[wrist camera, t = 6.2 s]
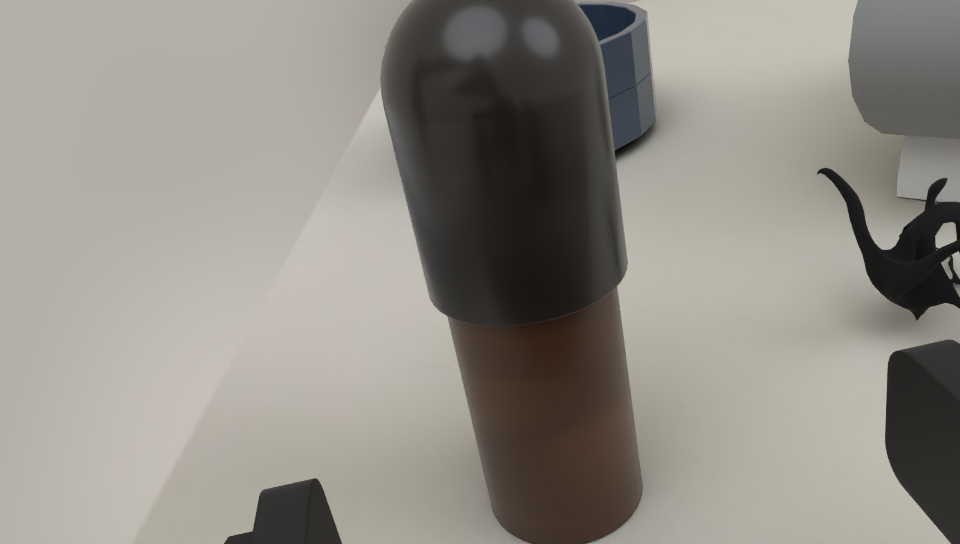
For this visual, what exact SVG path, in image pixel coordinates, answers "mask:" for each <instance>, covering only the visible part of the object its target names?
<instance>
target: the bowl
mask: <svg viewBox="0 0 960 544" xmlns="http://www.w3.org/2000/svg"><path fill="white" fill-rule="evenodd" d="M577 5H578V6H579V7H580V8H581V9H582V11H583V12H584V14H585V15H586V17H587V18H588V19H589V21H590V23H591V25H592V27H593V29H594V31H595V33H596V35H597V38H598V41H599V44H600V47H601V51H602V57H603V62H604V67H605V76H606V84H607V92H608V101H609V109H610V118H611V126H612V135H613V143H614V151H615V150H617V149H618V148H620V147H622V146H624V145H626V144H628V143H629V142H631V141H633V140H635V139H637V138H639V137H640V136H642V135H643V134H644V132H645V131H646V130H647V129H648V128H649V127H650V126H651V125H652V124H653V123H654V122H655V120H656V101H655V90H654V79H653V69H652V58H651V47H650V36H649V26H648V15H647V11H645V10H643V9H642V8H640V7H638V6H636V5H631V4H623V3H616V2H580V3H577Z"/></svg>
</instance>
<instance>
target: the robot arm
mask: <svg viewBox="0 0 960 544" xmlns="http://www.w3.org/2000/svg"><path fill="white" fill-rule="evenodd" d="M885 444H886V451H887V455H888V459H889V462H890V465H891V467H892V469H893V472H894V474H895V475H896V477H897V479H898V481H899V482H900V484H901V485H902V486H903V487H904V489H905V490H906V491H907V492H908V493H909V495H910V496H911V497H912V498H913V499H914V500H915V502H916V503H917V504H918V505H919V506H920V507H921V509H922V510H923V511H924V512H925V513H926V515H927V516H928V517H929V518H930V519H931V520H932V522H933V523H934V524H935V525H936V526H937V527H938V529H939V530H940V531H941V532H942V533H943V535H944V536H945V537H946V538H947V539H948V540H949V542H950V543H951V544H960V344H959V343H957V342H955V341H953V340H944V341H939V342H935V343H930V344H926V345H921V346H917V347H912V348H908V349H903V350H899V351H895V352H893V353H892V355H891V356H890V358H889V362H888V374H887V401H886V429H885ZM224 544H342V542H341V540H340V537H339V534H338V531H337V528H336V525H335V522H334V519H333V517H332V514H331V511H330V508H329V505H328V502H327V499H326V496H325V494H324V491H323V488H322V486H321V484H320V482H319V480H318V479H316V478H314V479H310V480H305V481H301V482H296V483H292V484H287V485H283V486H278V487H274V488H269V489H265V490H262V492H261V494H260V496H259V501H258V506H257V512H256V517H255V522H254V528H253V531H252V532H248V533H243V534H239V535H234V536H230V537H228V539H227V540H226V542H225V543H224Z"/></svg>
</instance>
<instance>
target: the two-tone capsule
mask: <svg viewBox="0 0 960 544" xmlns="http://www.w3.org/2000/svg"><path fill="white" fill-rule="evenodd" d="M381 94H382V100H383V106H384V110H385V114H386V119H387V123H388V127H389V131H390V135H391V139H392V143H393V148H394V152H395V156H396V160H397V164H398V168H399V172H400V177H401V181H402V185H403V189H404V193H405V197H406V201H407V206H408V210H409V214H410V218H411V222H412V226H413V230H414V235H415V239H416V243H417V247H418V251H419V255H420V259H421V264H422V268H423V272H424V276H425V280H426V284H427V288H428V293H429V296H430V300H431V301H432V303H433V305H434V306H435V307H436V308H437V309H438V310H439V311H440V312H442V313H443V314H445V315H446V316H448V321H449V325H450V329H451V334H452V338H453V342H454V346H455V351H456V355H457V359H458V364H459V368H460V372H461V376H462V381H463V385H464V389H465V394H466V398H467V402H468V406H469V411H470V415H471V419H472V424H473V428H474V432H475V436H476V441H477V445H478V449H479V454H480V458H481V462H482V467H483V471H484V475H485V479H486V484H487V488H488V492H489V497H490V501H491V505H492V509H493V512H494V514H495V516H496V518H497V519H498V521H499V522H500V523H501V525H502V526H504V527H505V528H506V529H507V530H508V531H509V532H511V533H512V534H514V535H515V536H517V537H519V538H521V539H523V540H526V541H529V542H532V543H536V544H582V543H586V542H589V541H593V540H595V539H598V538H600V537H603V536H605V535H607V534H609V533H611V532H612V531H614V530H615V529H617V528H618V527H620V526H621V525H622V524H623V523H624V522H625V521H627V519H628V518H629V517H630V516H631V515H632V514H633V512H634V511H635V509H636V508H637V505H638V503H639V501H640V498H641V494H642V479H641V471H640V463H639V455H638V447H637V439H636V431H635V424H634V416H633V408H632V400H631V392H630V384H629V376H628V368H627V361H626V353H625V345H624V337H623V329H622V321H621V313H620V305H619V297H618V290H617V286H618V285H619V283H620V282H621V280H622V279H623V277H624V275H625V273H626V270H627V264H628V261H627V252H626V244H625V236H624V227H623V219H622V210H621V202H620V193H619V185H618V177H617V168H616V160H615V151H614V143H613V135H612V126H611V118H610V109H609V101H608V92H607V84H606V76H605V67H604V62H603V57H602V51H601V47H600V44H599V41H598V38H597V35H596V33H595V31H594V29H593V27H592V25H591V23H590V21H589V19H588V18H587V17H586V15H585V14H584V12H583V11H582V9H581V8H580V7H579V6H578V5H577V3H576V2H575V1H574V0H413V1H411V2H410V3H409V5H408V6H407V7H406V8H405V10H404V11H403V13H402V14H401V15H400V17H399V18H398V20H397V22H396V23H395V25H394V27H393V29H392V31H391V33H390V36H389V39H388V42H387V44H386V47H385V52H384V56H383V60H382V68H381Z"/></svg>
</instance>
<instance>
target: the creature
mask: <svg viewBox="0 0 960 544" xmlns="http://www.w3.org/2000/svg"><path fill="white" fill-rule="evenodd" d="M818 173H822V174H824V175H826V176H827V177H828V178H829V179H830V180H831V181H832V182H833V183H834V184H835V186H836V187H837V188H838V190H839V191H840V193H841V195H842V196H843V198H844V200H845V201H846V204H847V208H848V213H849V217H850V222H851V225H852V228H853V231H854V234H855V237H856V240H857V243H858V245H859V248H860V250H861V252H862V255H863V259H864V263H865V267H866V271H867V275H868V276H869V278H870V280H871V282H872V284H873V285H874V286H875V287H876V288H877V289H878V291H879V292H880V293H881V294H882V295H884V296H885V297H886V298H887V299H888V300H890V301H891V302H893V303H895V304H897V305H899V306H901V307H903V308H905V309H908V310H910V311H911V312H912V313H913V314H914V316H915V318H916V320H918V319H919V317H920V316H921V315H922V314H924V312H925V311H926V310H927V309H928V308H929V307H931V306H936V305H939V304H943V303H949V304H953V305H955V306H957V307H958V308H960V297H959V295H958V293H957V292H956V290H955V288H954V287H953V283H955V284H960V279H959V278H958V276H957V274H956V273H955V271H954V269H953V257H952V256H951V255H952V254H954V253H956V252H958V251H959V253H960V202H940V203H937V204H935V200H936V197H937V196H938V195H939V193H940V192H941V190H942V189H943V188H944V186H945V185H946V182H947V180H948V178H941V179H939V180H937V181H935V182H934V183H933V184H932V185H931V186H930V187H929V189H928V193H927V199H926V204H925V210H924V212H923V213H921V214H920V215H919V216H917V217H916V218H915V219H914V220H912V221H911V222H910V223H909V224H908V225H906V226H905V227H904V229H903V231H902V233H901V235H900V236H899V237H900V239H899V240H898V242H897V244H896V246H895V247H893V248H892V249H890V250H882V249H880V248H879V247H878V246H877V245H876V244H875V242H874V241H873V239H872V238H871V235H870V233H869V231H868V228H867V225H866V220H865V215H864V210H863V207H862V204H861V202H860V200H859V197H858V196H857V194H856V193H855V192H854V190H853V189H852V188H851V187H850V185H849V184H848V183H847V182H846V181H845V180H844V179H843V178H841V177H840V176H839V175H838V174H837V173H835V172H834V171H833V170H831V169H828V168H823V169H820V170H819V171H818V172H817V174H818ZM947 222H954V223H955V224H956V233H957V241H955V242H953V243H950V244H948V245H946V246H944V247H941V248H940V249H939V248H936V244H935V235H936V234H937V232H938V231H939V229H940V227H941V226H942V224H943V223H947ZM936 249H938V250H936ZM949 256H950V260H949V262H948V264H949V267H950V269H951V271H952V274H953V279H951V280H950V278H949V277H948V276H947V274H946V272H945V270H944V268H943V267H942V264H941V262H942V261H944V260H945V259H946V258H948V257H949Z"/></svg>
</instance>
